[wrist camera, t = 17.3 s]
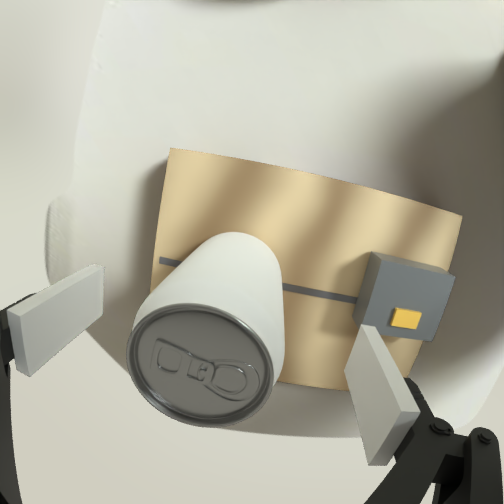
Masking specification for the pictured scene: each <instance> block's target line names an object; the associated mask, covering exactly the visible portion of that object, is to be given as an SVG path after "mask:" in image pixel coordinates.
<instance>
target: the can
mask: <svg viewBox="0 0 504 504" xmlns="http://www.w3.org/2000/svg"><path fill="white" fill-rule="evenodd" d="M284 353H285V334H284V309H283V291H282V276H281V270H280V266H279V263H278V260H277V258H276V256H275V255H274V253H273V252H272V250H271V249H270V248H269V247H268V246H267V245H266V244H265V243H264V242H262V241H261V240H259V239H258V238H256V237H254V236H251V235H249V234H245V233H240V232H226V233H221V234H218V235H216V236H213V237H211V238H209V239H208V240H206V241H205V242H204V243H202V244H201V245H200V246H199V247H198V248H197V249H196V250H195V251H194V252H193V253H191V254H190V255H189V256H188V257H187V258H186V259H185V260H184V261H183V262H182V263H181V264H180V265H179V266H178V267H177V268H176V269H175V270H174V271H173V272H172V273H171V274H170V275H168V276H167V277H166V278H165V279H164V280H163V281H162V282H161V283H160V284H159V285H158V286H157V287H156V288H155V289H154V290H153V292H152V293H151V294H150V295H149V296H148V297H147V298H146V300H145V301H144V302H143V304H142V305H141V307H140V308H139V310H138V312H137V314H136V317H135V320H134V323H133V329H132V332H131V334H130V337H129V340H128V343H127V349H126V360H127V366H128V370H129V373H130V376H131V378H132V380H133V382H134V384H135V386H136V387H137V389H138V390H139V392H140V393H141V395H143V397H144V398H145V399H146V400H147V401H148V402H149V403H150V404H151V405H152V406H153V407H155V408H156V409H157V410H159V411H160V412H162V413H163V414H165V415H167V416H168V417H171V418H172V419H175V420H177V421H180V422H182V423H186V424H189V425H193V426H198V427H210V428H213V427H225V426H230V425H233V424H237V423H239V422H242V421H244V420H246V419H248V418H249V417H251V416H253V415H254V414H255V413H256V412H258V411H259V410H260V409H261V408H262V406H263V405H264V404H265V403H266V401H267V399H268V398H269V396H270V393H271V391H272V387H273V386H274V384H275V383H276V381H277V379H278V377H279V375H280V373H281V370H282V366H283V361H284Z"/></svg>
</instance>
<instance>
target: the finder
mask: <svg viewBox="0 0 504 504" xmlns="http://www.w3.org/2000/svg"><path fill="white" fill-rule="evenodd" d="M455 278H456V277H455V276H453V275H452V274H450V273H449V272H447V271H445V270H444V269H442V268H441V267H437V266H433V265H429V264H425V263H420V262H416V261H412V260H408V259H404V258H399V257H395V256H391V255H386V254H382V253H378V252H373V251H371V253H370V257H369V260H368V264H367V267H366V271H365V275H364V278H363V281H362V285H361V288H360V292H359V295H358V298H357V301H356V305H355V308H354V311H353V314H352V318H353V320H354V322H355V324H356V326H357V327H358V329H360V326H361V324H363V325H368V326H374V327H376V329H377V331H378V333H379V335H386V336H393V337H400V338H407V339H415V340H422V341H430V342H432V341H433V338H434V336H435V333H436V331H437V328H438V326H439V323H440V321H441V318H442V315H443V313H444V310H445V307H446V304H447V302H448V299H449V296H450V293H451V290H452V287H453V284H454V281H455Z"/></svg>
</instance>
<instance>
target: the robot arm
mask: <svg viewBox="0 0 504 504" xmlns="http://www.w3.org/2000/svg"><path fill="white" fill-rule="evenodd" d="M104 270H105V267H103V266H99V265H96V264H91V265H89V266H87V267H85V268H83V269H81V270H79V271H77V272H76V273H74V274H72V275H70V276H68V277H66V278H64V279H62V280H60V281H58V282H56V283H55V284H53V285H51V286H49V287H47V288H45V289H43V290H42V291H40V292H38V293H34V294H30V295H28V296H26V297H24V298H23V299H22V300H19V301H17V302H16V303H13V304H12V305H10V306H8V307H6V308H5V309H3V310H1V311H0V504H22V500H21V496H20V491H19V485H18V479H17V474H16V466H15V458H14V449H13V440H12V426H11V408H10V407H11V405H10V365H9V362H10V361H11V360H12V359H15V364H16V368H17V370H18V371H20V372H21V373H24V374H25V375H27V376H29V377H31V376H32V375H33V374H34V373H35V372H36V371H37V370H38V369H40V368H41V367H42V366H43V365H44V364H45V363H46V362H48V361H49V360H50V359H51V358H52V357H53V356H55V355H56V354H57V353H58V352H59V351H60V350H62V349H63V348H64V347H65V346H66V345H67V344H68V343H70V342H71V341H72V340H73V339H74V338H76V337H77V336H78V335H79V334H80V333H82V332H83V331H84V330H85V329H86V328H88V327H89V326H90V325H91V324H92V323H94V322H95V321H96V320H97V319H98V318H100V317H101V316H102V315H103V295H104ZM344 372H345V376H346V380H347V383H348V387H349V391H350V394H351V398H352V402H353V406H354V409H355V413H356V417H357V421H358V425H359V429H360V433H361V437H362V441H363V445H364V449H365V453H366V457H367V462H368V465H374V466H377V465H378V466H379V465H380V466H385V465H387V464H388V463H389V461H390V460H391V458H392V457H393V455H394V457H395V460H396V464H395V465H394V466H393V468H392V469H391V470H390V472H389V473H388V474H387V476H386V477H385V478H384V480H383V481H382V482H381V484H380V485H379V486H378V487H377V489H376V490H375V491H374V492H373V494H372V495H371V496H370V497H369V498H368V500H367V501H366V502H365V503H364V504H420V503H421V501H422V499H423V497H424V496H425V494H426V492H427V490H428V488H429V486H430V485H431V483H436V484H435V491H434V496H433V501H432V504H503V489H502V488H503V486H502V472H501V461H500V451H499V443H498V439H497V437H496V436H495V434H494V433H493V432H492V431H490V430H489V429H486V428H482V427H478V428H475V429H473V430H472V431H471V433H470V434H469V436H463V435H458V434H454V430H453V428H452V426H451V425H450V424H449V423H448V422H446V421H445V420H443V419H440V418H437V417H434V415H433V413H432V412H431V410H430V408H429V406H428V404H427V402H426V401H425V400H424V397H423V395H422V394H421V391H420V390H419V388H418V386H417V385H416V384H415V383H414V382H413V381H412V380H411V379H410V378H405V377H402V375H401V373H400V371H399V369H398V367H397V365H396V364H395V362H394V360H393V358H392V356H391V354H390V353H389V351H388V349H387V347H386V345H385V343H384V342H383V340H382V338H381V336H380V335H379V333H378V331H377V329H376V327H374V326H368V325H363V324H361V326H360V329H359V332H358V334H357V337H356V340H355V343H354V346H353V348H352V351H351V354H350V356H349V359H348V362H347V364H346V367H345V369H344Z"/></svg>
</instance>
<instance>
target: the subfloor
mask: <svg viewBox="0 0 504 504" xmlns="http://www.w3.org/2000/svg"><path fill="white" fill-rule="evenodd" d="M462 217H463V216H460V215H458V214H455V213H452V212H449V211H446V210H442V209H439V208H436V207H433V206H430V205H427V204H424V203H420V202H417V201H414V200H410V199H407V198H404V197H400V196H397V195H393V194H390V193H386V192H383V191H379V190H375V189H372V188H368V187H364V186H361V185H357V184H353V183H349V182H345V181H341V180H337V179H333V178H329V177H324V176H320V175H316V174H312V173H307V172H303V171H298V170H294V169H289V168H284V167H280V166H275V165H270V164H265V163H260V162H254V161H249V160H244V159H238V158H233V157H227V156H221V155H215V154H209V153H203V152H196V151H190V150H183V149H176V148H170V152H169V157H168V163H167V168H166V174H165V180H164V186H163V192H162V199H161V205H160V212H159V219H158V226H157V233H156V241H155V249H154V258H153V267H152V276H151V286H150V294H151V293H152V292H153V290H154V289H155V288H156V287H157V286H158V285H159V284H160V283H161V282H162V281H163V280H164V279H165V278H166V277H167V276H168V275H170V274H171V273H172V272H173V271H174V270H175V269H176V268H177V267H178V266H179V265H180V264H181V263H182V262H183V261H184V260H185V259H186V258H187V257H188V256H189V255H190V254H191V253H193V252H194V251H195V250H196V249H197V248H198V247H199V246H200V245H201V244H202V243H204V242H205V241H206V240H208V239H209V238H211V237H213V236H216V235H218V234H221V233H226V232H240V233H245V234H249V235H251V236H254V237H256V238H258V239H259V240H261V241H262V242H264V243H265V244H266V245H267V246H268V247H269V248H270V249H271V250H272V252H273V253H274V255H275V256H276V258H277V260H278V263H279V266H280V270H281V276H282V291H283V309H284V334H285V353H284V361H283V366H282V370H281V373H280V375H279V377H278V379H277V381H280V382H286V383H292V384H299V385H305V386H312V387H319V388H327V389H335V390H343V391H349V387H348V383H347V380H346V376H345V372H344V369H345V367H346V364H347V362H348V359H349V356H350V354H351V351H352V348H353V346H354V343H355V340H356V337H357V334H358V332H359V329H358V327H357V326H356V324H355V322H354V320H353V318H352V314H353V311H354V308H355V305H356V301H357V298H358V295H359V292H360V288H361V285H362V281H363V278H364V275H365V271H366V267H367V264H368V260H369V257H370V253H371V251H373V252H378V253H382V254H386V255H391V256H395V257H399V258H404V259H408V260H412V261H416V262H420V263H425V264H429V265H433V266H437V267H441V268H442V269H444V270H445V271H447V272H448V270H449V267H450V263H451V260H452V257H453V253H454V249H455V246H456V242H457V238H458V234H459V230H460V226H461V222H462ZM380 336H381V338H382V340H383V342H384V343H385V345H386V347H387V349H388V351H389V353H390V354H391V356H392V358H393V360H394V362H395V364H396V365H397V367H398V369H399V371H400V373H401V375H402V377H405V378H407V377H408V375H409V373H410V370H411V368H412V366H413V364H414V362H415V359H416V357H417V355H418V352H419V350H420V348H421V345H422V343H423V341H422V340H415V339H407V338H400V337H393V336H386V335H380Z"/></svg>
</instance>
